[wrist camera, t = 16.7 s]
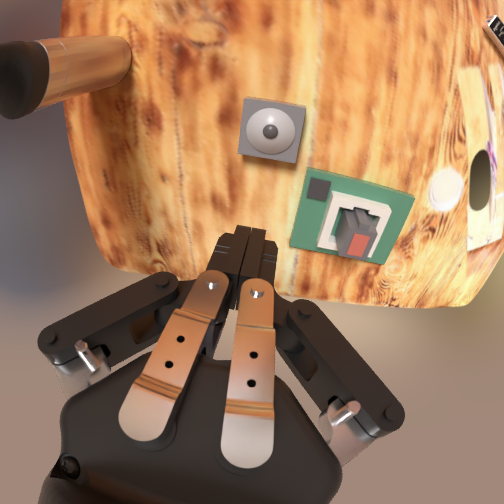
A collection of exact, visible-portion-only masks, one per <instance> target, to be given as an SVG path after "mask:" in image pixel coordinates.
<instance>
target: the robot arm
mask: <svg viewBox="0 0 504 504" xmlns="http://www.w3.org/2000/svg"><path fill="white" fill-rule="evenodd" d="M130 64H131V49H130V46H129V44H128V43H127V42H126V41H125V40H124V39H123V38H121V37H118V36H74V37H61V38H51V39H44V40H37V41H32V42H23V41H12V42H6V43H1V44H0V114H1V115H2V116H3V117H5V118H7V119H18V118H21V117H23V116H25V115H27V114H30V113H32V112H34V111H37V110H39V109H41V108H44V107H47V106H49V105H52V104H54V103H57V102H60V101H63V100H66V99H69V98H72V97H75V96H78V95H82V94H85V93H88V92H92V91H96V90H100V89H104V88H108V87H111V86H114V85H116V84H117V83H119V82H120V81H121V80H122V79H123V78H124V77H125V75H126V74H127V72H128V70H129V67H130ZM265 234H266V230H263V229H258V228H252V231H251V227H247V226H241V225H237V227H236V230H235V233H234V234H231V233H224V234H223V235H222V236H221V237H219V239H218V241H217V244H216V246H215V249H214V251H213V254H212V256H211V259H210V261H209V263H208V266H207V268H206V271H204V272H202V273H201V274H200V275H199V276H198V277H197V279H194V280H189V281H178V279H177V277H176V276H175V275H174V274H172V273H169V272H158V273H155V274H153V275H151V276H149V277H147V278H145V279H143V280H140V281H138V282H136V283H134V284H132V285H130V286H128V287H126V288H124V289H122V290H120V291H118V292H116V293H114V294H111V295H109V296H107V297H105V298H103V299H101V300H99V301H97V302H95V303H93V304H91V305H89V306H87V307H85V308H83V309H81V310H79V311H77V312H75V313H73V314H71V315H69V316H67V317H65V318H63V319H61V320H59V321H57V322H55V323H53V324H52V325H50V326H48V327H46V328H44V329H43V330H42V331H41V333H40V335H39V337H38V347H39V349H40V350H41V352H42V353H43V354H44V355H45V356H46V357H47V359H48V361H49V362H50V363H51V364H52V365H53V366H54V369H55V372H56V374H57V377H58V380H59V382H60V385H61V387H62V389H63V392H64V394H65V396H66V398H67V402H66V403H65V405H64V407H63V408H62V411H61V415H60V429H61V440H62V441H61V453H60V456H59V459H58V461H57V462H56V464H55V465H54V467H53V468H52V470H51V471H50V473H49V474H48V476H47V477H46V479H45V480H44V483H43V486H42V490H41V493H40V497H39V501H38V504H329V503H330V501H331V500H332V498H333V497H334V496H335V495H336V493H337V492H338V490H339V488H340V485H341V482H342V467H343V466H344V465H345V464H347V463H348V462H349V461H351V460H352V459H353V458H354V457H356V456H357V455H358V454H359V453H360V452H362V451H363V450H364V449H365V448H367V447H368V446H369V445H370V444H371V443H372V442H373V441H375V440H377V439H379V438H381V437H383V436H385V435H387V434H389V433H391V432H393V431H395V430H397V429H399V428H400V427H401V425H402V424H403V422H404V418H405V412H404V408H403V407H402V405H401V404H400V402H399V401H398V400H397V399H396V398H395V396H394V395H393V394H392V393H391V392H390V390H389V389H388V388H387V387H386V386H385V385H384V383H383V382H382V381H381V380H380V379H379V377H378V376H377V375H376V374H375V373H374V371H373V370H372V369H371V368H370V367H369V366H368V364H367V363H366V362H365V361H364V360H363V358H362V357H361V356H360V355H359V354H358V353H357V351H356V350H355V349H354V348H353V347H352V346H351V344H350V343H349V342H348V341H347V340H346V339H345V337H344V336H343V335H342V334H341V333H340V332H339V330H338V329H337V328H336V327H335V326H334V325H333V323H332V322H331V321H330V320H329V319H328V318H327V316H326V315H325V314H324V313H323V312H322V311H321V310H320V308H319V307H318V306H317V305H316V304H314V303H313V302H311V301H309V300H304V299H299V300H296V301H294V302H289V301H287V300H285V299H283V298H282V297H280V296H279V295H278V294H277V293H276V291H275V289H274V278H275V270H276V262H277V253H278V248H277V245H276V243H275V242H274V241H269V240H265ZM236 300H237V302H236ZM235 304H236V310H238V317H237V324H236V331H235V339H234V346H233V353H232V360H214V359H213V356H214V352H215V350H216V347H217V344H218V341H219V339H220V336H221V333H222V330H223V328H224V325H225V322H226V318H227V315H228V311H229V309H233V310H234V308H235ZM156 342H157V344H156V346H155V348H154V350H153V351H151V352H148V353H146V354H143V355H142V356H140V357H138V358H137V359H135V360H133V361H132V362H130V363H128V364H127V365H125V366H123V367H122V368H120V369H118V370H117V371H115V372H113V373H111V374H110V372H111V367H113V366H114V365H116V364H118V363H120V362H122V361H124V360H125V359H127V358H129V357H131V356H133V355H134V354H136V353H138V352H140V351H142V350H143V349H145V348H147V347H149V346H151V345H152V344H154V343H156ZM275 346H276V349H277V351H278V352H279V354H280V356H281V357H282V358H283V360H284V361H285V363H286V364H287V365H288V367H289V368H290V369H291V371H292V372H293V374H294V375H295V376H296V378H297V379H298V380H299V382H300V383H301V385H302V386H303V387H304V389H305V390H306V391H307V393H308V394H309V395H310V397H311V398H312V399H313V401H314V402H315V403H316V405H317V406H318V407H319V409H320V410H321V411H322V412H321V414H320V415H319V419H318V425H319V427H320V429H321V431H322V434H323V437H322V435H321V434H320V433H319V431H318V430H317V428H316V427H315V425H314V424H313V423H312V421H311V420H310V418H309V417H308V415H307V414H306V412H305V411H304V409H303V408H302V406H301V405H300V403H299V402H298V400H297V399H296V397H295V396H294V394H293V393H292V391H291V390H290V388H289V387H288V386H287V385H286V383H285V382H284V381H282V380H281V379H280V378H279V377H277V376H276V375H274V370H275Z"/></svg>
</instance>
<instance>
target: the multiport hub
mask: <svg viewBox="0 0 504 504" xmlns="http://www.w3.org/2000/svg"><path fill="white" fill-rule="evenodd" d="M482 28H483V29H484V30H485V32H486V33H487V34H488V36H489V37H490V38H491V40H492V41H493V42H494V44H495V45H496V47H497V48H498V49H499V51H500V52H501V54H502V55H503V57H504V24H503V22H502V21H501V20H500V18H499V17H498V16H497V15H489V17H488V18H487V19H486V20H485V22H484V23H483V24H482Z"/></svg>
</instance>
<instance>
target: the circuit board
mask: <svg viewBox="0 0 504 504" xmlns="http://www.w3.org/2000/svg"><path fill="white" fill-rule="evenodd" d="M414 200H415V198H414V196H413V195H411V194H408V193H405V192H402V191H398V190H395V189H392V188H388V187H385V186H382V185H378V184H375V183H371V182H368V181H364V180H360V179H356V178H352V177H349V176H345V175H341V174H336V173H332V172H328V171H324V170H319V169H315V168H310V167H307V171H306V175H305V180H304V184H303V188H302V193H301V197H300V201H299V205H298V209H297V214H296V218H295V222H294V226H293V230H292V234H291V238H290V242H289V246H291V247H296V248H302V249H307V250H312V251H317V252H322V253H327V254H333V255H338V249H337V243H336V237H335V230H336V227H337V224H338V221H339V218H340V215H341V212H342V209H343V208H347V209H351V210H353V208H354V207H358V208H362V209H364V211H366V212H368V213H369V214H370V216H371V218H372V221H373V223H374V226H375V228H376V231H377V233H378V235H377V237H376V239H375V241H374V244H373V246H372V248H371V250H370V252H369V255H368V257H367V259H366V261H368V262H373V263H378V264H383V265H384V264H385V262H386V260H387V258H388V256H389V254H390V252H391V250H392V248H393V246H394V244H395V242H396V240H397V238H398V236H399V234H400V232H401V229H402V227H403V225H404V223H405V221H406V219H407V216H408V214H409V212H410V209H411V207H412V205H413V202H414ZM338 256H339V255H338Z"/></svg>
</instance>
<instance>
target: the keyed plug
mask: <svg viewBox="0 0 504 504" xmlns="http://www.w3.org/2000/svg"><path fill="white" fill-rule="evenodd" d="M377 235H378V233H377V231H376V228H375V226H374V223H373V221H372V218H371V216H370V214H369V213H368V212H366V211H364V209H362V208H358V207H354V208H353V210H351V209H347V208H343V209H342V212H341V215H340V218H339V221H338V224H337V227H336V230H335V237H336V243H337V249H338V255H339V256H343V257H348V258H353V259H358V260H363V261H366V259H367V257H368V255H369V252H370V250H371V248H372V246H373V244H374V241H375V239H376V237H377Z"/></svg>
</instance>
